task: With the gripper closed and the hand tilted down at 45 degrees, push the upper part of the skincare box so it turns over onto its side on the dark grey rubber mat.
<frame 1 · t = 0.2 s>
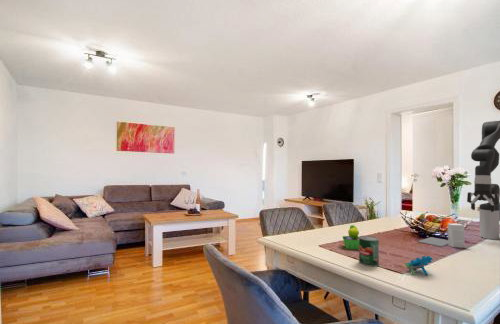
hand: (482, 210, 160), 18 cm above the table, tool pointing down, fingers open, 8 cm apart
mat: (435, 242, 156), on the table
canned tomato: (368, 263, 119), on the table
toy dinosaur: (418, 272, 109), on the table
fruit basket: (354, 248, 143), on the table
skincare box: (456, 246, 147), on the table
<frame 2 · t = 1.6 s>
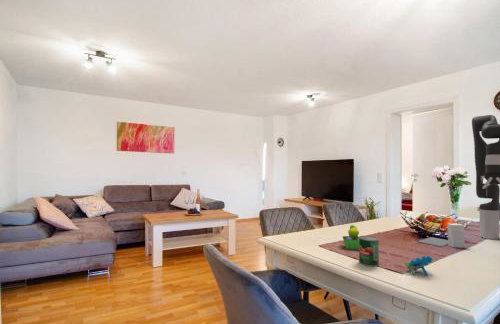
hand: (495, 196, 137), 28 cm above the table, tool pointing down, fingers open, 7 cm apart
nothing on the table moved.
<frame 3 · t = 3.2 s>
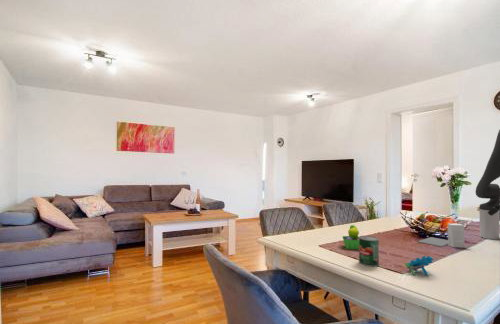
hand: (489, 214, 136), 19 cm above the table, tool tilted 45°, fingers closed
nothing on the table moved.
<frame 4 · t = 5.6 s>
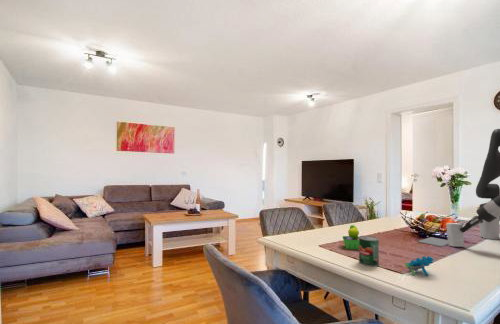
hand: (461, 230, 146), 9 cm above the table, tool tilted 45°, fingers closed
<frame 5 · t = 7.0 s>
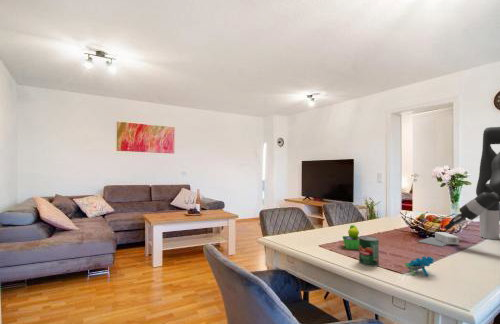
hand: (446, 228, 152), 9 cm above the table, tool tilted 45°, fingers closed
skincare box: (453, 240, 149), point 2 cm above the table, touching mat
everything else where it was.
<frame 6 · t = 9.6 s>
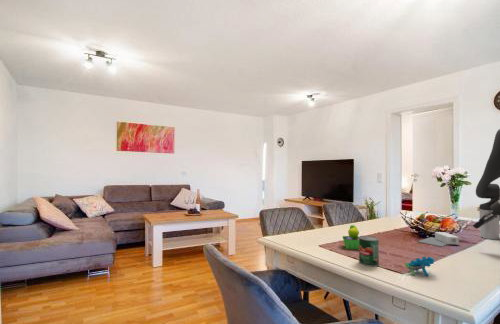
hand: (474, 227, 141), 12 cm above the table, tool tilted 45°, fingers closed
nothing on the table moved.
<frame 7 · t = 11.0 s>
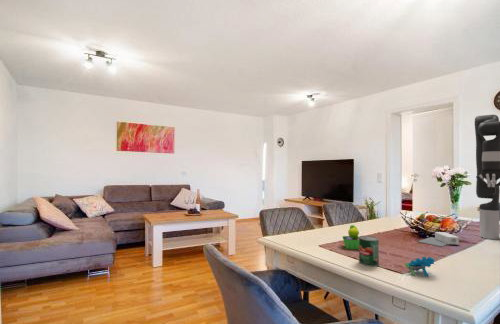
hand: (492, 194, 140), 29 cm above the table, tool pointing down, fingers closed
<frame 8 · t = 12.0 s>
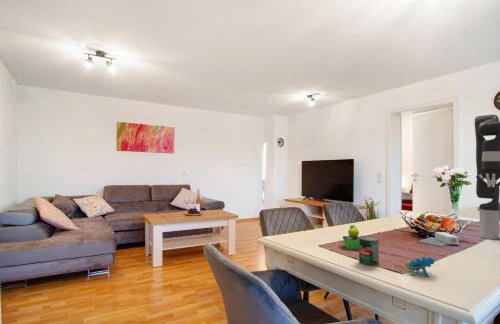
hand: (491, 194, 140), 29 cm above the table, tool pointing down, fingers closed
at the end: skincare box tilted 90°; skincare box inside the target area (8.1 cm from its centre), point 2.5 cm above the table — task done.
